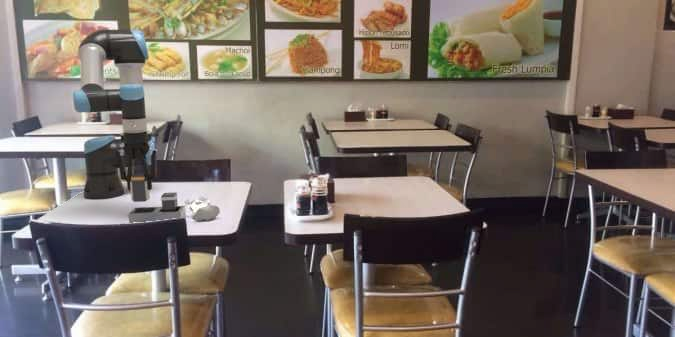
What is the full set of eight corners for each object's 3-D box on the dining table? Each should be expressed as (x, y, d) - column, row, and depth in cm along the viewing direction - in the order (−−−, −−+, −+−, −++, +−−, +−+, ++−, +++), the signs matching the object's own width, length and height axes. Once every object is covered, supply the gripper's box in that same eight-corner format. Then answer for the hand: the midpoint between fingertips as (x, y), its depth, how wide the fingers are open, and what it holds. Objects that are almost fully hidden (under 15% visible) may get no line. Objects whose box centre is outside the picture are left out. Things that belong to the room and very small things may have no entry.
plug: (136, 198, 196) (134, 173, 194) (148, 198, 196) (146, 172, 195) (133, 202, 192) (130, 175, 190) (145, 201, 192) (143, 175, 191)
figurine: (194, 211, 183) (181, 198, 192) (195, 228, 186) (182, 215, 195) (221, 204, 188) (207, 192, 197) (222, 222, 191) (208, 209, 200)
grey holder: (136, 222, 187) (134, 192, 185) (186, 220, 188) (184, 190, 187) (129, 229, 179) (127, 198, 178) (181, 227, 181) (179, 196, 179)
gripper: (105, 133, 185) (111, 203, 190) (158, 132, 186) (164, 201, 191) (112, 130, 192) (118, 197, 197) (163, 129, 194) (168, 195, 198)
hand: (140, 199), depth 194 cm, fingers closed on plug, 4 cm apart
